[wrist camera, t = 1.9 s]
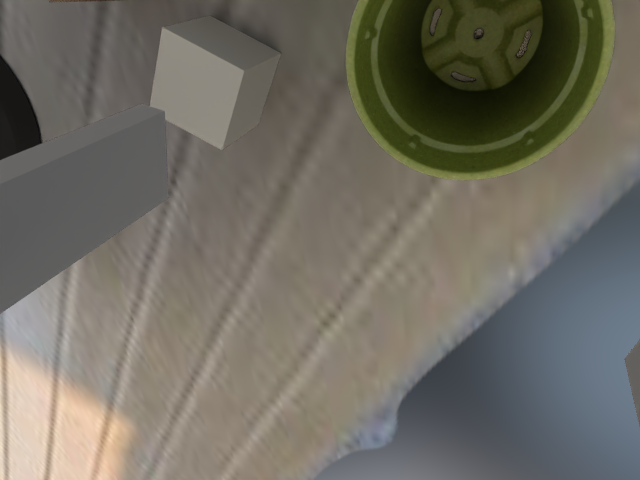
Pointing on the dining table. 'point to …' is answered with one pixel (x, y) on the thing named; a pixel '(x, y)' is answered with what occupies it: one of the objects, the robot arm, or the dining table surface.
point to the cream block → (212, 79)
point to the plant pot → (491, 79)
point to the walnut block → (76, 0)
